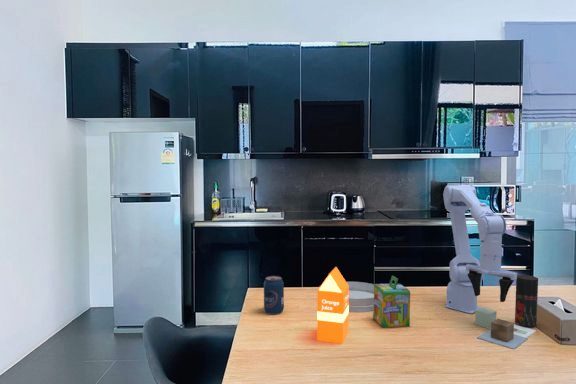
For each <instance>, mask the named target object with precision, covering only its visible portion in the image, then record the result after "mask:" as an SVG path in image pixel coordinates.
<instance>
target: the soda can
mask: <svg viewBox="0 0 576 384" xmlns="http://www.w3.org/2000/svg"><path fill="white" fill-rule="evenodd" d="M264 279H265V280H264V281H263V309H264V311H265V313H266V314H268V315H272V316H273V315H279V314H281V313H283V311H284V310H285V309H284V308H285V294H284V292H285V289H284V288H285V287H284V285H285V282H284V281H283V277H282V276H280V275H270V276H266V277H265V278H264Z"/></svg>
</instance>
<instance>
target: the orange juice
mask: <svg viewBox="0 0 576 384" xmlns="http://www.w3.org/2000/svg"><path fill="white" fill-rule="evenodd" d="M347 282H348V281H346V279H345V278H344V277H343V275H342V274H341V272H340V270H339V269H338V266H335V267H334V268H333V269H332V270H331V271H330V272H329V273H328V275H327V277H326V278H325V279H324V281H323V282H322V284H321V285H319V288H318V289H317V290H316V292H317V293H316V296H317V297H316V301H317V302H316V303H317V304H316V306H317V307H316V309H317V310H316V321H317V322H316V323H317V325H316V326H317V327H316V332H317V334H316V337H317V341H321V342H326V343H327V342H328V343H335V344H344V343H345V340H346V339H347V336H348V334H349V331H350V330H349V328H350V326H349V322H350V320H349V319H350V318H349V315H350V314H349V313H350V312H349V285H348V284H347Z"/></svg>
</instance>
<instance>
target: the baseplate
mask: <svg viewBox="0 0 576 384" xmlns="http://www.w3.org/2000/svg"><path fill="white" fill-rule="evenodd" d="M477 339H479V340H482V341H485V342H489V343H492V344H494V345H495V344H496V345H499V346H502V347H505V348H508V349H512V350H515V349H517V348H518V347H519V346H521V345H522V344H523V343H525V342H526V341H527V340H528V337H527V338H525V337H522V336H518V335H514V338H513V339H512V340H510V341H509V342H504V341H501V340H497V339H494V338H491V328H489V329H488V330H487V331H485V332H484V333H481V334H480V335H478V336H477Z"/></svg>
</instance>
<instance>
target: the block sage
mask: <svg viewBox="0 0 576 384" xmlns="http://www.w3.org/2000/svg"><path fill="white" fill-rule="evenodd" d="M474 313H475V315H474V324H475V325H476V326H480V327H484V328H487V329H491V322H492V321H494V320H496V319H497V310H493V309H489V308H486V307H481V308H480V309H478V310H476V311H475V312H474Z"/></svg>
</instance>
